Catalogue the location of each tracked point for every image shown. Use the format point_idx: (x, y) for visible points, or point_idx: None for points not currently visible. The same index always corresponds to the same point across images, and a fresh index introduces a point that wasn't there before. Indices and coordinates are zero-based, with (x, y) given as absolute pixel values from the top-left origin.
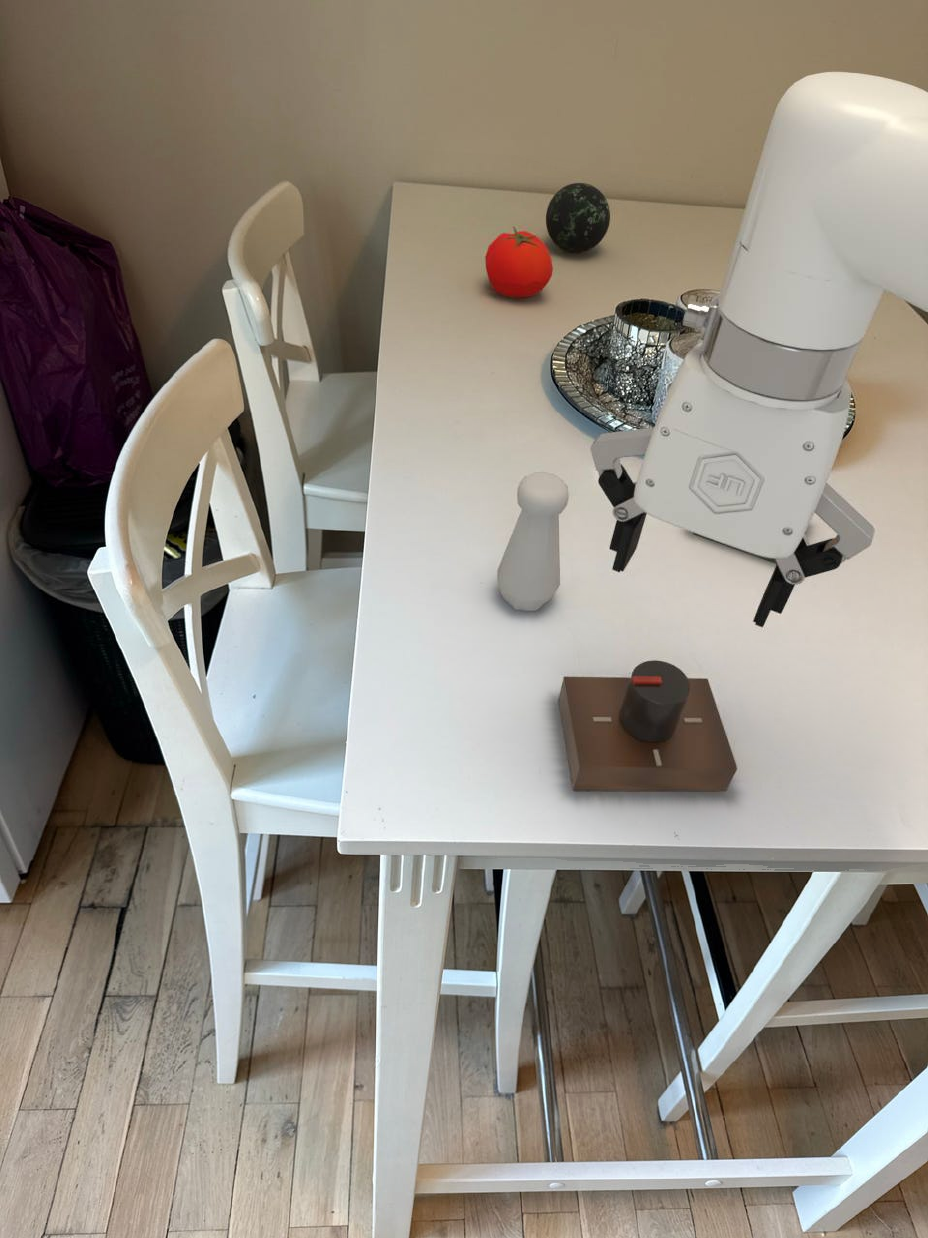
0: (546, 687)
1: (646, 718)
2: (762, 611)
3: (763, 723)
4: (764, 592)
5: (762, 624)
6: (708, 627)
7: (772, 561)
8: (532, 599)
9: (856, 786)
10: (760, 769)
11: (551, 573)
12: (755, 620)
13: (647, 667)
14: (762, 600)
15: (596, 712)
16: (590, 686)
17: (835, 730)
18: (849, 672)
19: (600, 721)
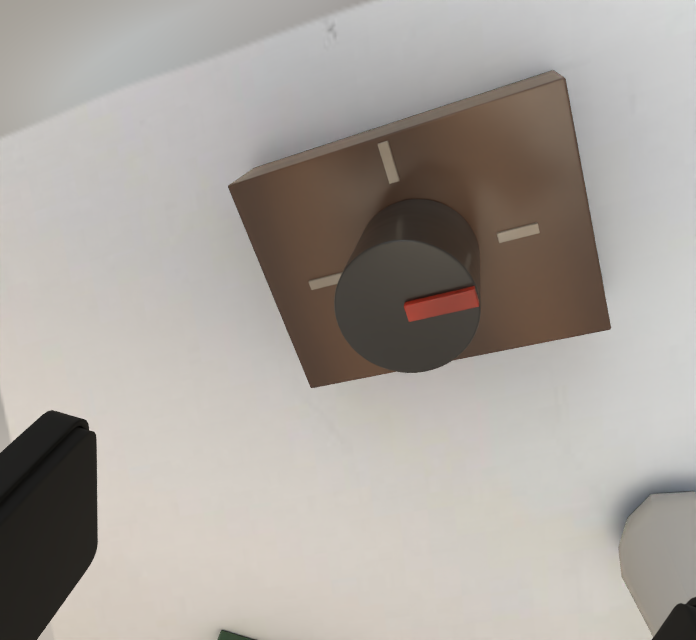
0: (622, 322)
1: (426, 222)
2: (23, 468)
3: (213, 334)
4: (76, 570)
5: (47, 419)
6: (326, 507)
7: (245, 637)
8: (679, 513)
9: (55, 245)
10: (203, 236)
11: (659, 576)
12: (77, 434)
13: (442, 345)
14: (3, 519)
15: (531, 250)
16: (547, 316)
17: (105, 347)
18: (106, 460)
19: (521, 227)
